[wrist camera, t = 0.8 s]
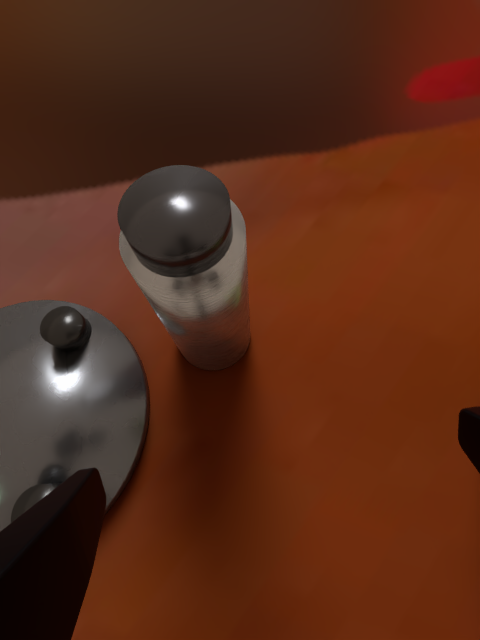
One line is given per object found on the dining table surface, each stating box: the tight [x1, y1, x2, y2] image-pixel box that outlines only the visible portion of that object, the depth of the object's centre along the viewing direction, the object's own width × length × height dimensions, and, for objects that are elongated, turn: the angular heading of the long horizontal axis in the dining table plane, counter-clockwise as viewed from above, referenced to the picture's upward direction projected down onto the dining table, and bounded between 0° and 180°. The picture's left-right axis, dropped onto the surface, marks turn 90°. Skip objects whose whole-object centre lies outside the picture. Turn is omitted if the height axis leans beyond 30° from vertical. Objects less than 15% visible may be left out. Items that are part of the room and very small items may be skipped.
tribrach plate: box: [0, 300, 150, 531], centre depth 21 cm, size 16×16×2 cm
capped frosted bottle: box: [118, 165, 250, 371], centre depth 18 cm, size 5×5×12 cm
